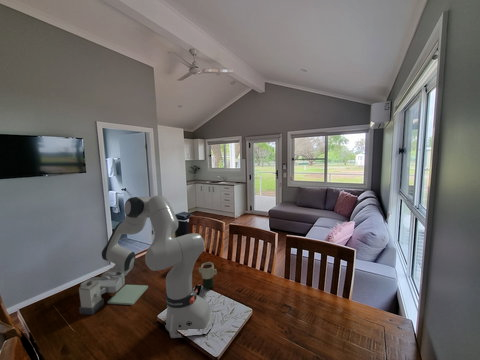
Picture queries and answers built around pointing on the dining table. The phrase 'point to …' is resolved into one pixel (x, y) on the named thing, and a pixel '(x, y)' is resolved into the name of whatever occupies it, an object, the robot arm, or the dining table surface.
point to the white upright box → (89, 294)
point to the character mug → (207, 274)
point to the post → (91, 310)
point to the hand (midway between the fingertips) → (89, 295)
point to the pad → (128, 294)
